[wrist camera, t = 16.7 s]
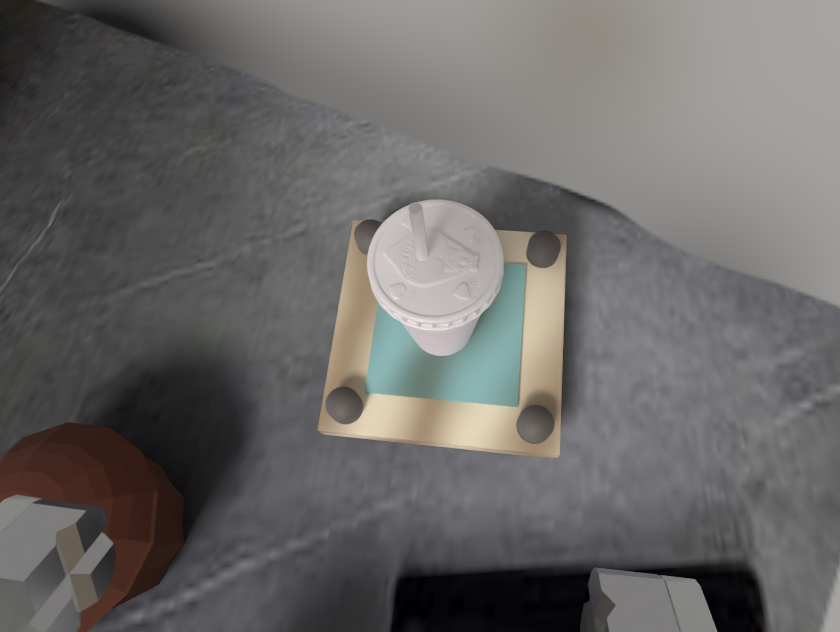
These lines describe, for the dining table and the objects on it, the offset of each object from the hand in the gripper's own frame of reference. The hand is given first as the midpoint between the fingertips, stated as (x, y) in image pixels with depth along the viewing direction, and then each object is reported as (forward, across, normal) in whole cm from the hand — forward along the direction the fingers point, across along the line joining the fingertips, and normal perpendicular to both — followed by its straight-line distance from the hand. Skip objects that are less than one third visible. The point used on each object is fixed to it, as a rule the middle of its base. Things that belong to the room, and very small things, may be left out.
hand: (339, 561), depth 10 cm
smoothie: (+26, 0, +8) cm, 27 cm away
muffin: (+19, +20, +22) cm, 35 cm away
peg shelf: (+29, 0, +11) cm, 31 cm away
